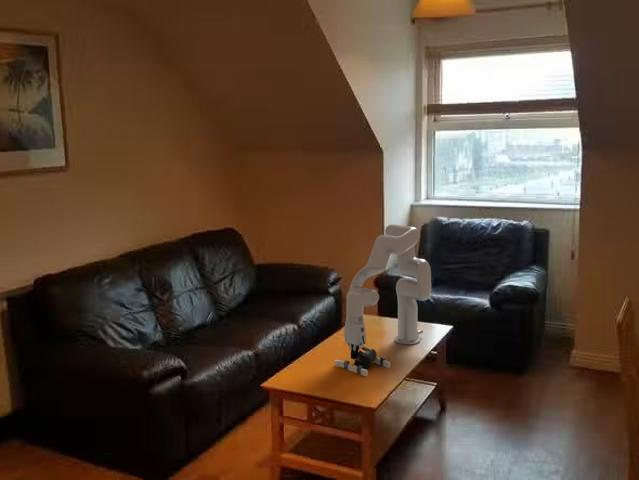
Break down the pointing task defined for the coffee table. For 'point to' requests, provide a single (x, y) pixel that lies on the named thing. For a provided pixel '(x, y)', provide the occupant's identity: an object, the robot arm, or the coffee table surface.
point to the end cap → (365, 357)
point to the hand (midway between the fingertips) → (354, 358)
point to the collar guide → (359, 368)
